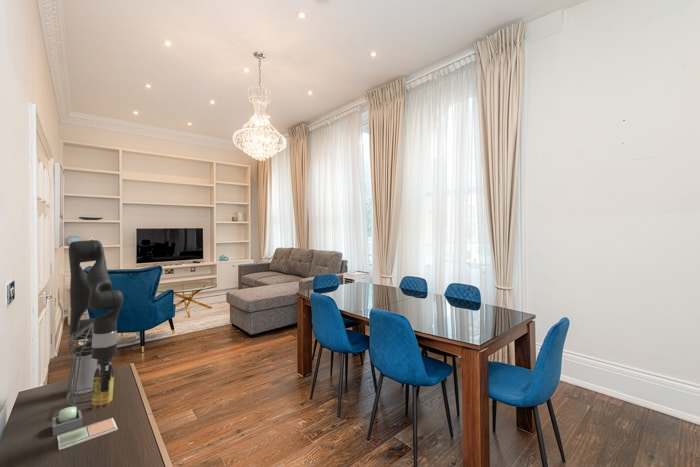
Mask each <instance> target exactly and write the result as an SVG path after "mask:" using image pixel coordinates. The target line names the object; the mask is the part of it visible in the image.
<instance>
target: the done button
mask: <svg viewBox="0 0 700 467" xmlns="http://www.w3.org/2000/svg"><path fill="white" fill-rule="evenodd" d="M76 411H77V407H73V406H68V407H65V408H63V409H61V410H59V411H58V416H59V422H58V424H62V423H65V422H68V421H71V420H75V419H76Z"/></svg>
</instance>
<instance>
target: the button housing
mask: <svg viewBox="0 0 700 467" xmlns="http://www.w3.org/2000/svg"><path fill="white" fill-rule="evenodd" d="M80 410H81V409H78V411H76V419H75V420H71V421H68V422H65V423H62V424H58V422H59V415H57V416H55V417H52V419H51V420H52V422H51V429H52V436H53V437H54V436H57V435H60V434H63V433H66V432H70V431H73V430H76V429H79V428H82V427H83V421H84V420H83V415H82V410H81V411H80Z"/></svg>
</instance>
